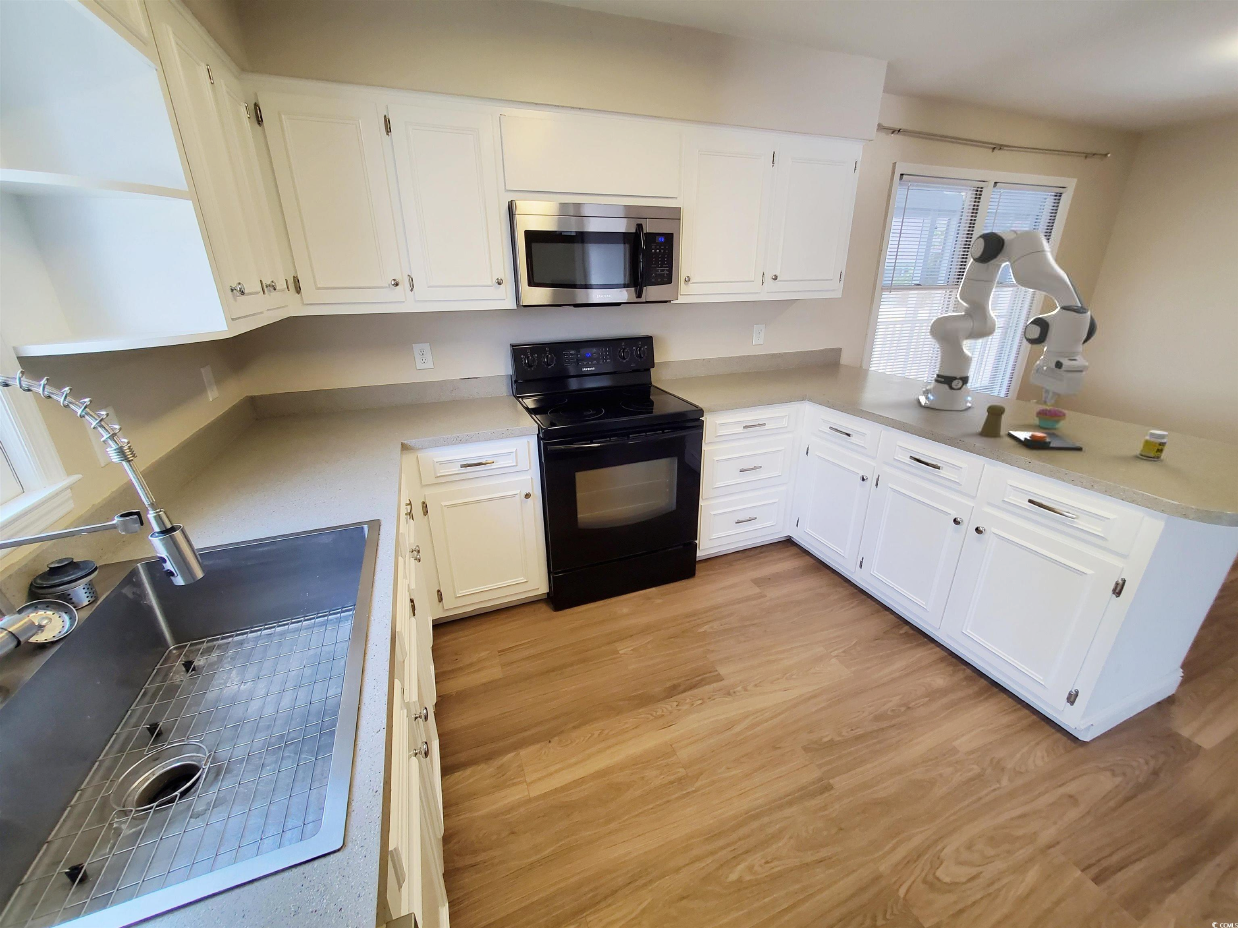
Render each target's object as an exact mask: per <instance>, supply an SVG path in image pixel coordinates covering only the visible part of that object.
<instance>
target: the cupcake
mask: <svg viewBox="0 0 1238 928" xmlns="http://www.w3.org/2000/svg"><path fill="white" fill-rule="evenodd" d="M1035 417H1036V418H1037V420H1038V426H1039V427H1040V428H1044V429H1056V428H1057V426H1058V425H1059V424H1060V423H1061V422H1062V421H1065V420H1066V419H1067V414H1066V412H1065V411H1064V410H1062V409H1060V408H1055V407H1051V404H1047V407H1045V408H1041V409H1038V411H1036V413H1035Z"/></svg>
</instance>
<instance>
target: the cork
mask: <svg viewBox="0 0 1238 928" xmlns="http://www.w3.org/2000/svg"><path fill="white" fill-rule="evenodd" d="M1005 412H1006V407H1005V406H1003V405H1001V404H989V405H988V406H987V408H986V413H987V414H986V417H985V420H984V423H983V424H982V427H981V430H980V433H979V435H980V436H983V437H987V438H999V437H1001V432H1002V420H1003V415H1004V414H1005Z"/></svg>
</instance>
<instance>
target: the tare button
mask: <svg viewBox="0 0 1238 928" xmlns="http://www.w3.org/2000/svg"><path fill="white" fill-rule="evenodd" d="M1033 432H1034V433H1031V437H1030V438H1031V439H1034V440H1046V437H1047V435H1046V434H1044V433H1037V432H1038V431H1033Z"/></svg>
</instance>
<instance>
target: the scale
mask: <svg viewBox="0 0 1238 928" xmlns="http://www.w3.org/2000/svg"><path fill="white" fill-rule="evenodd" d="M1034 432H1035V431H1008V432H1007V435H1008V436H1009V437H1011V438H1013V439H1014V440H1017V441H1018V442H1020V443H1021V444H1023V445H1024V446H1026V447H1027V448H1029V449H1031V450H1044V451H1045V450H1046V451H1047V450H1048V451H1049V450H1050V451H1078V452H1079V451H1082V450H1083V446H1081V445H1079V444H1077V443H1075V442H1073V441H1072V440H1069V439H1067V438H1065V437H1063V436H1062V435H1060V434H1057V433H1055V432H1049V431H1048V432H1045V431H1036V432H1037V433H1044V434H1046V435H1047V437H1046V440H1034V439H1031V438H1030V437H1031V433H1034Z"/></svg>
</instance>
